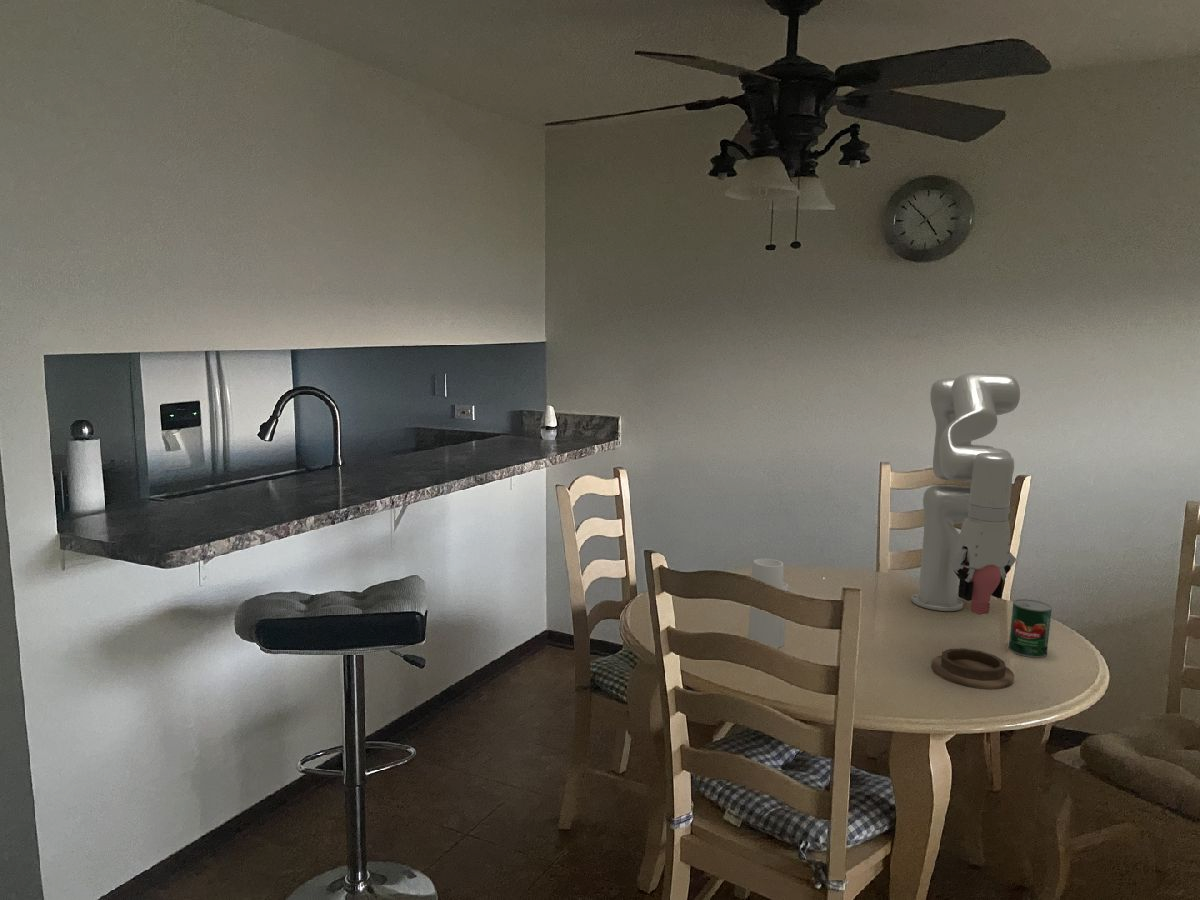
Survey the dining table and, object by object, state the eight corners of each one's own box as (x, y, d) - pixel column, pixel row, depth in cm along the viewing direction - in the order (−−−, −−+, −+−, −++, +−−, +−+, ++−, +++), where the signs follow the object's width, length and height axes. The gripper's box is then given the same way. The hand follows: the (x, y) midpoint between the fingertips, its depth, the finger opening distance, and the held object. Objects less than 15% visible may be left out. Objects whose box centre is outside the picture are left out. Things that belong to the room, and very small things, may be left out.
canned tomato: (1038, 646, 201) (1043, 600, 199) (1052, 659, 193) (1058, 611, 191) (1002, 643, 202) (1007, 597, 200) (1015, 656, 194) (1020, 609, 192)
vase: (774, 658, 188) (780, 568, 185) (741, 652, 191) (747, 563, 188) (786, 642, 198) (792, 556, 195) (755, 636, 201) (760, 551, 198)
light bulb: (954, 614, 181) (959, 558, 180) (967, 606, 187) (972, 552, 185) (989, 622, 177) (995, 565, 175) (1001, 615, 182) (1007, 559, 180)
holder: (955, 652, 195) (956, 640, 194) (1027, 676, 182) (1029, 663, 182) (916, 669, 185) (917, 655, 184) (990, 695, 172) (991, 681, 172)
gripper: (1007, 508, 185) (999, 589, 187) (940, 511, 179) (933, 595, 182) (1035, 515, 178) (1026, 600, 180) (967, 519, 172) (958, 606, 175)
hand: (979, 596), depth 181 cm, fingers closed on light bulb, 7 cm apart
